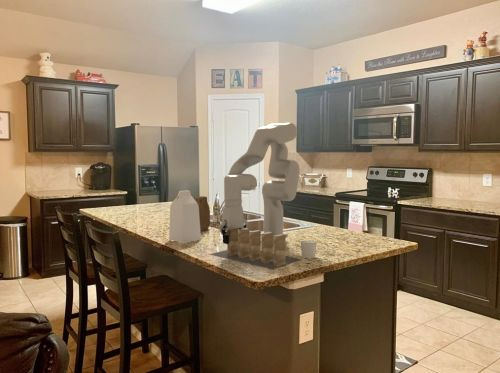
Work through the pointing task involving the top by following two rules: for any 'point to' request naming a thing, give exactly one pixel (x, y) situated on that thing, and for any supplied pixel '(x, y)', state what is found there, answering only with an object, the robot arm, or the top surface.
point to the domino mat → (256, 262)
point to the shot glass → (308, 249)
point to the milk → (184, 218)
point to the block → (203, 212)
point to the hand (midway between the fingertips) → (233, 241)
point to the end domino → (233, 242)
